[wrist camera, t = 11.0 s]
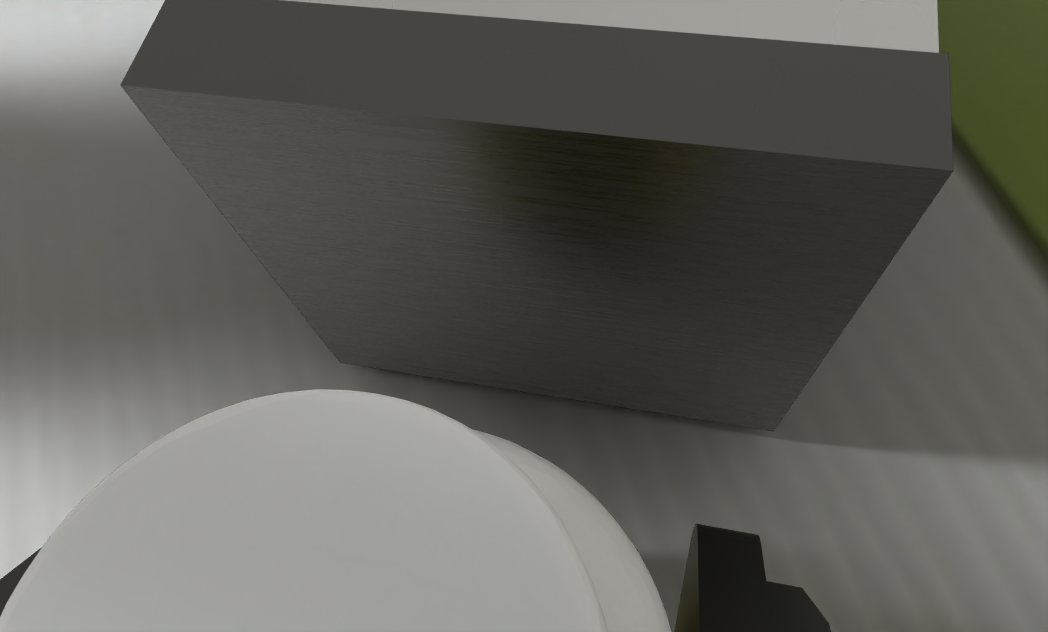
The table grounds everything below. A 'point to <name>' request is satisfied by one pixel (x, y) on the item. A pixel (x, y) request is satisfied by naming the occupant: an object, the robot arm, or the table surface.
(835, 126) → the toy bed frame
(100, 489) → the supplement bottle
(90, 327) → the table surface
